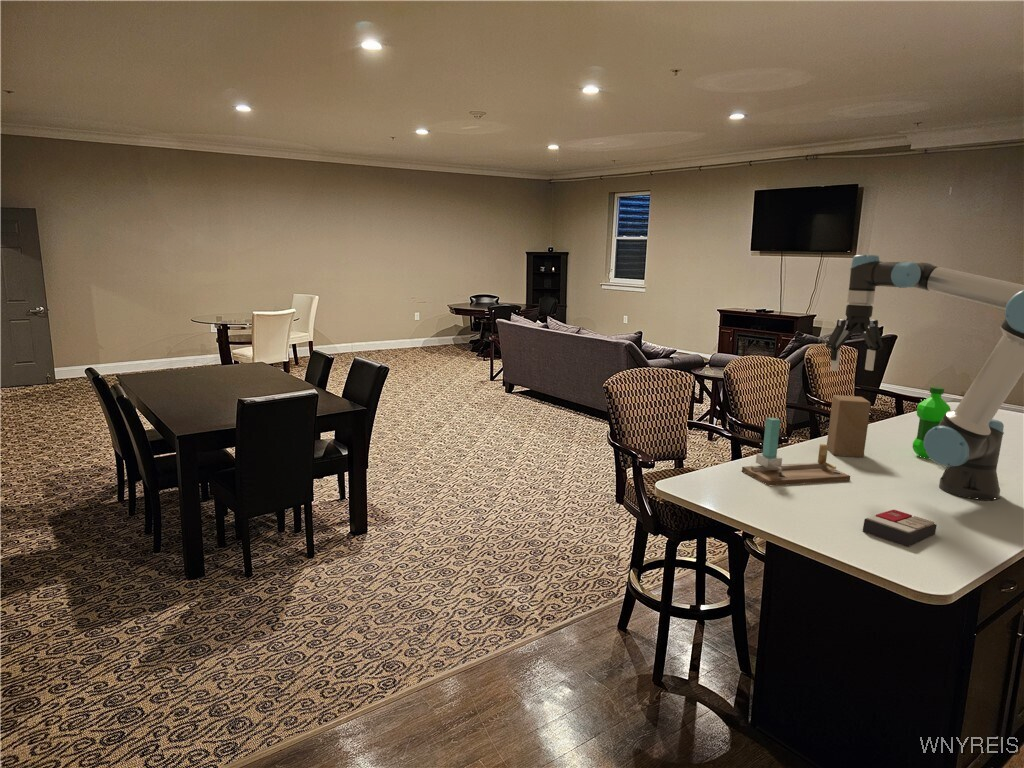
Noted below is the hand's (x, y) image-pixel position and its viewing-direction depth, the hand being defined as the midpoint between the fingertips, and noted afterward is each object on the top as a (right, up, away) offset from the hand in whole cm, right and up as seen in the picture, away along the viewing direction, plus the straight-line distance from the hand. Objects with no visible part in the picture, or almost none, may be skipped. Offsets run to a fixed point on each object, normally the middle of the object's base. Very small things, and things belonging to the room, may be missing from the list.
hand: (851, 370), depth 215 cm
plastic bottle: (+38, -30, +22) cm, 53 cm away
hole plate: (-20, -33, -5) cm, 39 cm away
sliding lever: (-28, -31, -6) cm, 43 cm away
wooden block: (+9, -29, +23) cm, 39 cm away
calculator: (-13, -42, -48) cm, 65 cm away
